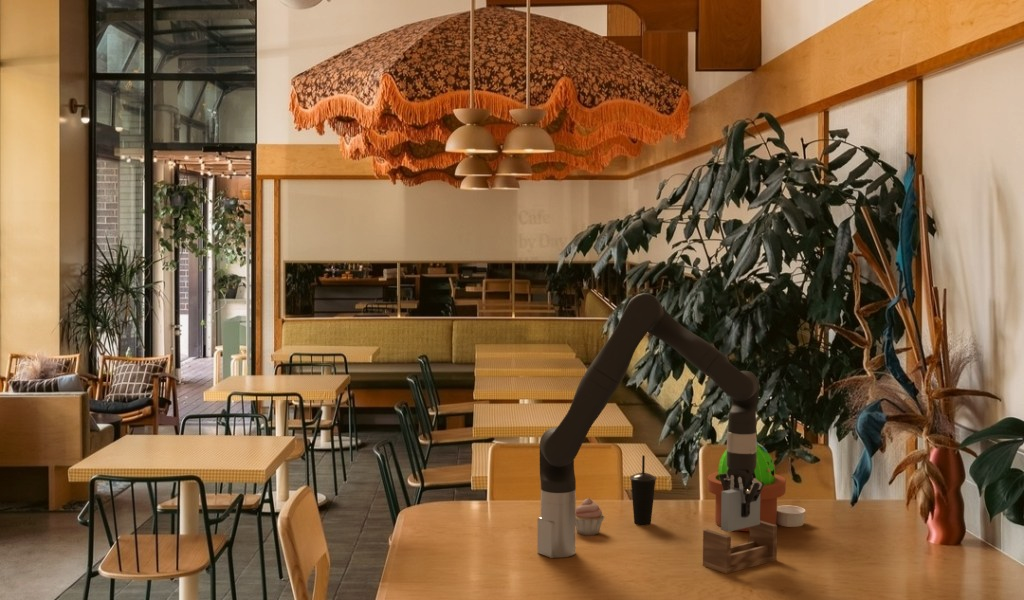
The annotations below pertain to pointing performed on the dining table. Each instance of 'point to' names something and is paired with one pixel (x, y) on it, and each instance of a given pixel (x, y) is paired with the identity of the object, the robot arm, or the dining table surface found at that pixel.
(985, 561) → the dining table surface
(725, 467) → the potted cactus
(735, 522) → the gray rectangular slab
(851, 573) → the dining table surface
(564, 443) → the robot arm
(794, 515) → the ramekin
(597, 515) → the cupcake
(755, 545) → the wooden card holder
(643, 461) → the drinking cup
